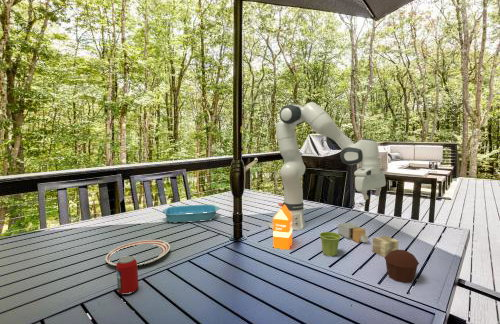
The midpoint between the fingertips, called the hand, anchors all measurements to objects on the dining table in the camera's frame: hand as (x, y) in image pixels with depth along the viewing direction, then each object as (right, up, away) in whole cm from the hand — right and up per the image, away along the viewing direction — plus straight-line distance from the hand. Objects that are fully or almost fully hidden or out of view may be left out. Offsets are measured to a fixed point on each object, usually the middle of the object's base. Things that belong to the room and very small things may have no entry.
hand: (371, 197), depth 141 cm
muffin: (-4, -26, -34) cm, 43 cm away
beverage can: (-105, -28, -41) cm, 116 cm away
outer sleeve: (-9, -22, +8) cm, 25 cm away
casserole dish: (-100, -20, +45) cm, 112 cm away
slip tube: (-8, -22, +6) cm, 24 cm away
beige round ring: (-112, -26, -13) cm, 116 cm away
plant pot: (-25, -24, -13) cm, 37 cm away
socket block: (0, -24, -13) cm, 27 cm away
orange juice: (-45, -24, -3) cm, 51 cm away
